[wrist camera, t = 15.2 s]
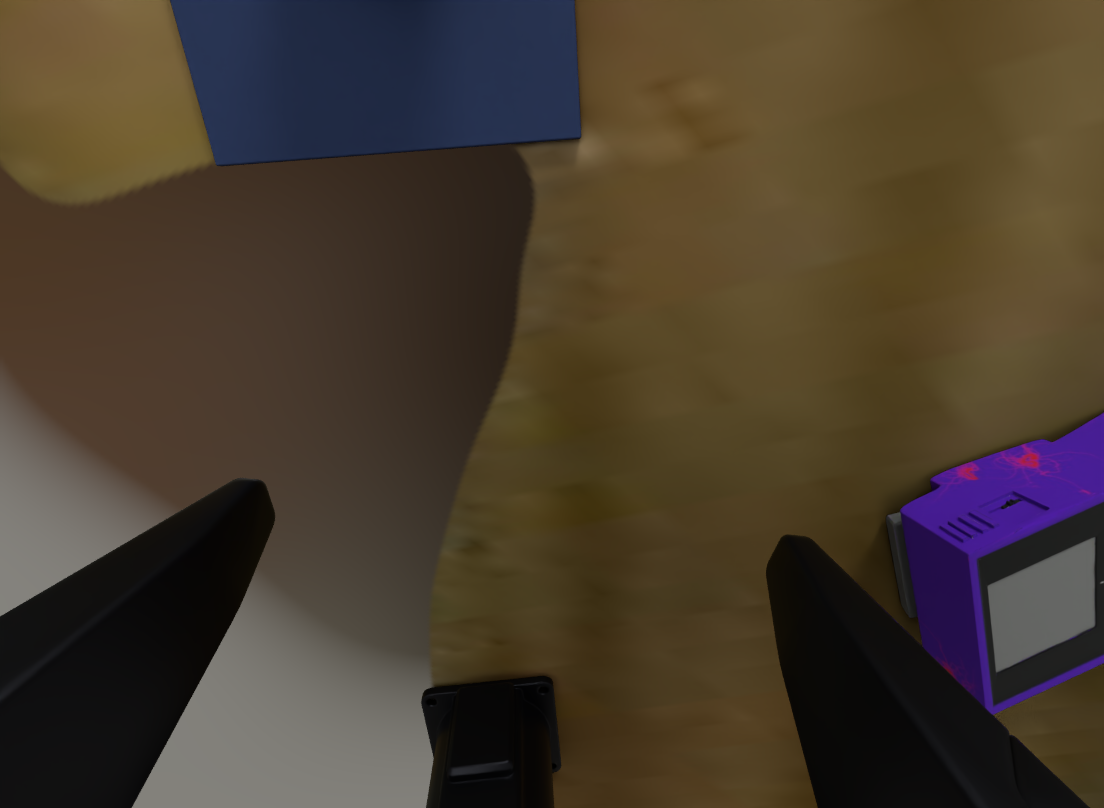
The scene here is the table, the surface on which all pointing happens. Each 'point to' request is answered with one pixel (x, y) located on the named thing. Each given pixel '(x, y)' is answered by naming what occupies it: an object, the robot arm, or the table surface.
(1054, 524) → the handheld gaming console
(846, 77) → the table surface
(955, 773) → the robot arm
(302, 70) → the navy cloth
